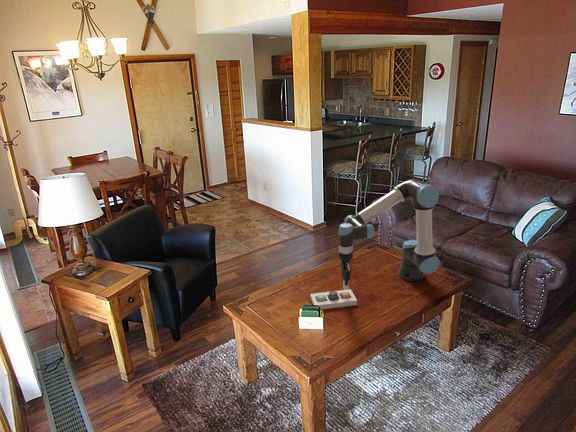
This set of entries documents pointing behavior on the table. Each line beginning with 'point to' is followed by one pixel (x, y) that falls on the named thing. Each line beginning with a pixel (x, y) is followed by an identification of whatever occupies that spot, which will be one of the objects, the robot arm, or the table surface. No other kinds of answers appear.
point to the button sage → (321, 298)
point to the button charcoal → (333, 295)
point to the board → (334, 303)
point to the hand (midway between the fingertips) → (345, 289)
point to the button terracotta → (345, 295)
